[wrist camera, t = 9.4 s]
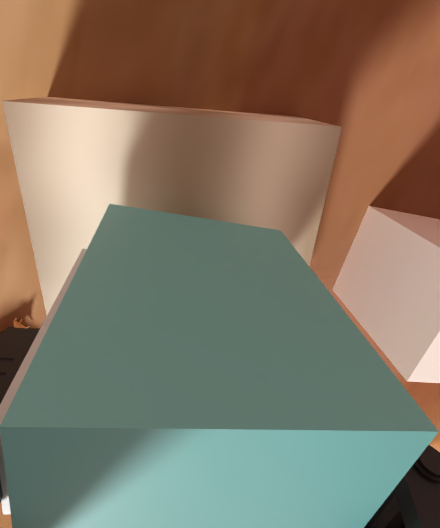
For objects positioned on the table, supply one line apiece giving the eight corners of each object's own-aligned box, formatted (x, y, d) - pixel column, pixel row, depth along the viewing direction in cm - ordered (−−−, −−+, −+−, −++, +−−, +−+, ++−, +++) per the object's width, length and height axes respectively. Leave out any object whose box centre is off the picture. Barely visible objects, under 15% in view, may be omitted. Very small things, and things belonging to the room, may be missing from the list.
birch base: (80, 309, 21) (57, 369, 16) (49, 96, 15) (2, 101, 11) (264, 306, 23) (287, 358, 18) (297, 116, 17) (342, 126, 13)
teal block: (100, 344, 13) (26, 630, 6) (109, 203, 11) (-1, 426, 4) (241, 353, 15) (308, 598, 8) (280, 230, 12) (438, 431, 5)
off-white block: (332, 289, 22) (406, 381, 15) (368, 205, 20) (478, 270, 13) (406, 298, 24) (505, 386, 17) (449, 221, 21) (588, 287, 14)
